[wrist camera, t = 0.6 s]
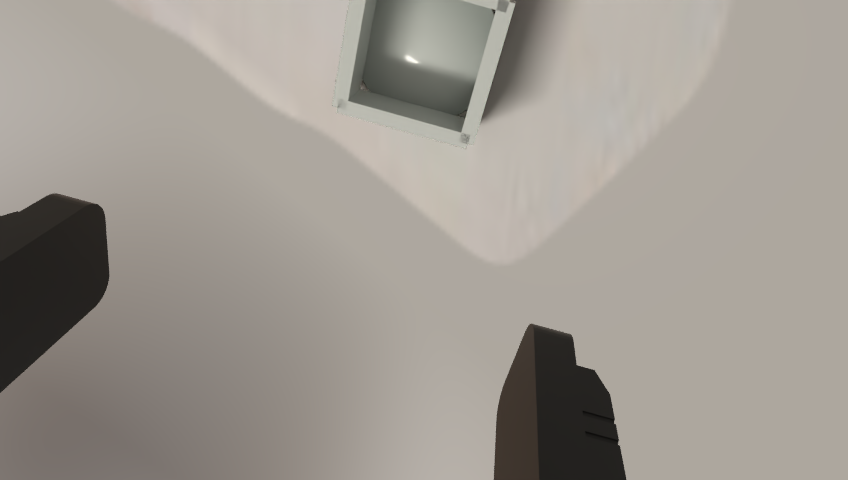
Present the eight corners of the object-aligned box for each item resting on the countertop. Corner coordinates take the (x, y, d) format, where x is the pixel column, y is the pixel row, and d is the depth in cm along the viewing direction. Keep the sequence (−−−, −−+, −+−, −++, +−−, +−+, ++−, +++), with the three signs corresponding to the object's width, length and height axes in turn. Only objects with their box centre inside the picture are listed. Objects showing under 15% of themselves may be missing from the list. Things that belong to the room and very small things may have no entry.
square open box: (372, -52, 30) (355, -51, 27) (519, -11, 30) (520, -5, 27) (346, 96, 34) (328, 112, 31) (476, 133, 34) (472, 152, 30)
